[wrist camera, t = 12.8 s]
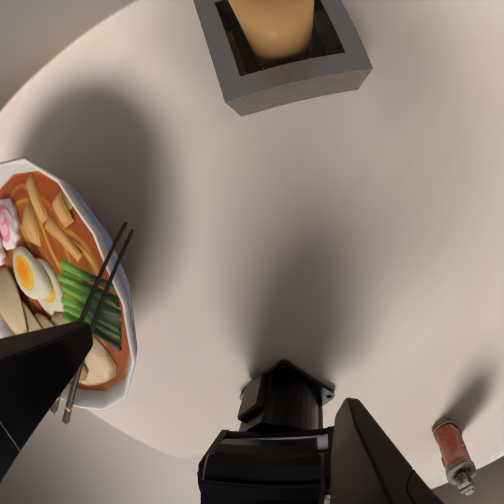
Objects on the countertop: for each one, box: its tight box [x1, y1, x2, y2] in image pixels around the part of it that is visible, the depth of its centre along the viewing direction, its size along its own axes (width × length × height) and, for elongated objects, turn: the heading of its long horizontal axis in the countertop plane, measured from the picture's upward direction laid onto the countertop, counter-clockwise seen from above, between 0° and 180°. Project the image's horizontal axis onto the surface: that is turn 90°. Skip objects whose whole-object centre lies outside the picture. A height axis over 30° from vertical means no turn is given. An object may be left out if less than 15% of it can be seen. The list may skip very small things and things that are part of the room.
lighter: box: [432, 417, 476, 495], centre depth 18 cm, size 8×3×10 cm, turn 43°
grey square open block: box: [193, 0, 373, 116], centre depth 14 cm, size 8×8×4 cm
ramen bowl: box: [0, 157, 137, 424], centre depth 20 cm, size 25×23×8 cm
